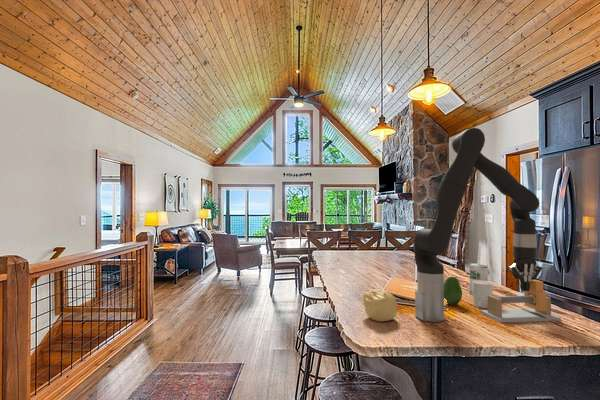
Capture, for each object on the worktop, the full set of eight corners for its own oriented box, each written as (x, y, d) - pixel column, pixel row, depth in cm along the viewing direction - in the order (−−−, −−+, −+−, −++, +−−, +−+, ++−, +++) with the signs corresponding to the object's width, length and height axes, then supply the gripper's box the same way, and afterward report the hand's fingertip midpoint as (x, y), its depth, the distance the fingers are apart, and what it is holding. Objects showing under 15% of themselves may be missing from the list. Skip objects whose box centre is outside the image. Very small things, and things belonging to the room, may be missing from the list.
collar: (539, 311, 121) (539, 282, 122) (524, 305, 128) (524, 278, 129) (546, 310, 122) (546, 282, 122) (531, 305, 129) (531, 278, 129)
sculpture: (358, 315, 125) (358, 286, 125) (387, 312, 128) (387, 285, 128) (372, 325, 114) (372, 294, 114) (403, 322, 117) (403, 292, 117)
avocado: (465, 304, 139) (465, 276, 139) (456, 308, 134) (456, 279, 134) (446, 300, 145) (446, 273, 145) (438, 304, 140) (438, 275, 140)
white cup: (496, 309, 133) (496, 284, 133) (475, 308, 135) (475, 283, 135) (489, 303, 141) (489, 280, 141) (469, 302, 142) (469, 279, 143)
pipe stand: (500, 322, 118) (499, 300, 118) (480, 312, 128) (480, 292, 129) (560, 320, 120) (560, 298, 120) (536, 311, 131) (535, 291, 131)
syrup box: (468, 293, 157) (468, 263, 158) (478, 292, 159) (478, 262, 160) (478, 296, 152) (478, 265, 152) (488, 295, 154) (488, 264, 154)
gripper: (516, 246, 121) (516, 293, 120) (548, 246, 122) (549, 293, 122) (501, 244, 128) (502, 288, 128) (532, 244, 130) (533, 288, 129)
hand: (525, 290), depth 125 cm, fingers closed
